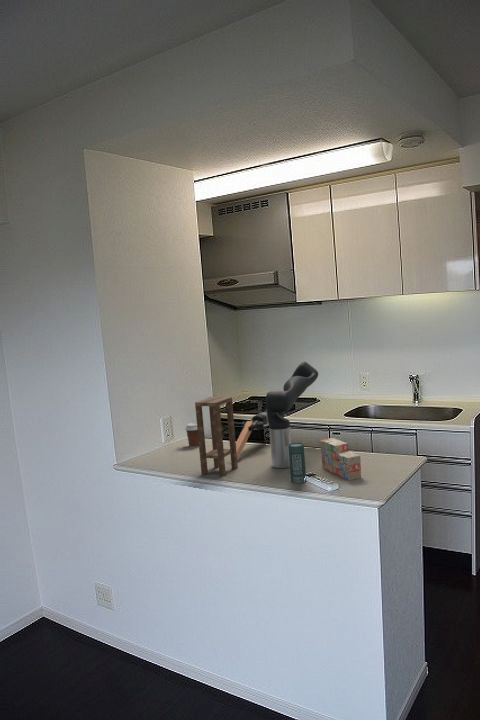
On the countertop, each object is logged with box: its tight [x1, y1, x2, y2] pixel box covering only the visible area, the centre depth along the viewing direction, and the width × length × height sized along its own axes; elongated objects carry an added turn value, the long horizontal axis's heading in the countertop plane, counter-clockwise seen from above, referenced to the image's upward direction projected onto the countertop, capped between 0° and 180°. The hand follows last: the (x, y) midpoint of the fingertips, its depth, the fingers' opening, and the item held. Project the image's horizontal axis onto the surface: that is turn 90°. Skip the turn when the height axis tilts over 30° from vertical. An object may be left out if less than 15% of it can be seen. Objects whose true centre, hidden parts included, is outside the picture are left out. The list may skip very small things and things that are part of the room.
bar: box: [236, 420, 253, 458], centre depth 270 cm, size 21×3×3 cm
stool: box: [194, 396, 239, 477], centre depth 248 cm, size 11×13×32 cm
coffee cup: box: [184, 422, 199, 449], centre depth 296 cm, size 9×9×12 cm
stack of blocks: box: [319, 437, 362, 481], centre depth 234 cm, size 21×6×12 cm, turn 20°
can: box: [288, 442, 307, 484], centre depth 227 cm, size 6×6×15 cm
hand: (245, 429), depth 272 cm, fingers closed on bar, 3 cm apart
